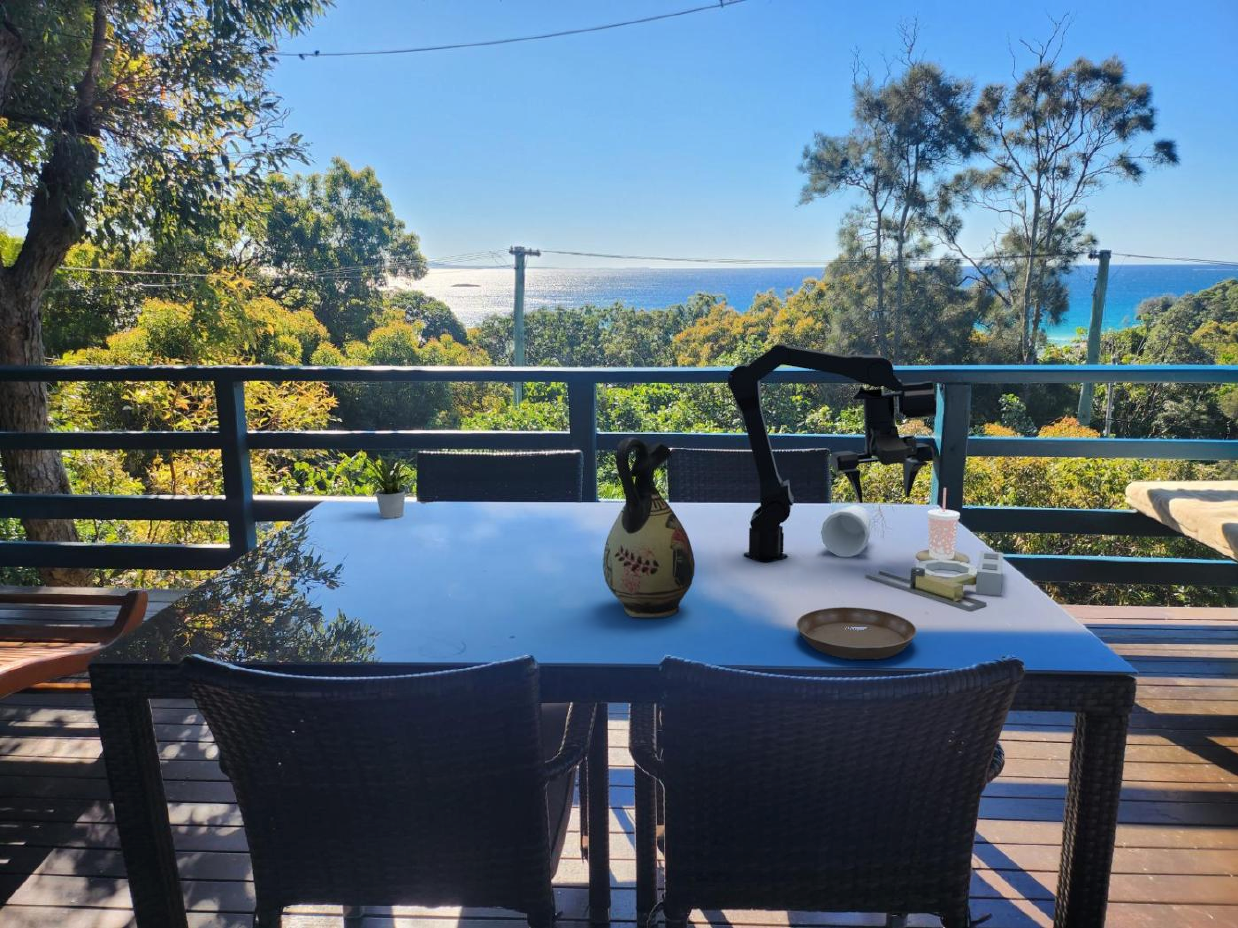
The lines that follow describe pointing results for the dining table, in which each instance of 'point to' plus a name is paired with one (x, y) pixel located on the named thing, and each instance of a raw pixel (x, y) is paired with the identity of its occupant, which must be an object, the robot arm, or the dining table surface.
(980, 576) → the socket
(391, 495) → the house plant
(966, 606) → the rail
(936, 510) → the beverage cup
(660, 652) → the dining table surface
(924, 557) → the coaster
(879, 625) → the plant saucer
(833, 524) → the foam cup
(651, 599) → the ceramic jug
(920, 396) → the robot arm
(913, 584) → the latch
